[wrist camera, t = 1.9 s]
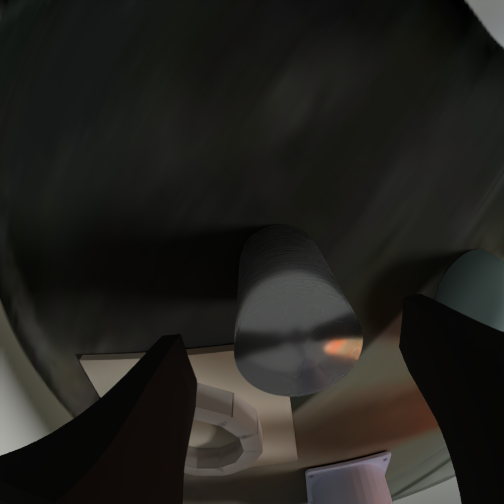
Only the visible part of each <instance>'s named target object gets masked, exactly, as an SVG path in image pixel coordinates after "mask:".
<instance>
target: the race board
mask: <svg viewBox="0 0 504 504" xmlns="http://www.w3.org/2000/svg"><path fill="white" fill-rule="evenodd" d="M186 351H187V354H188V357H189V360H190V363H191V365H192V368H193V371H194V373H195V376H196V379H197V395H196V408H195V414H194V419H193V424H192V430H191V435H190V440H189V445H188V450H187V456H186V461H185V468H184V473H187V474H191V475H195V476H196V475H197V476H222V475H229V474H232V473H235V472H238V471H241V470H244V469H246V468H249V467H251V466H262V465H272V464H280V463H288V462H295V461H298V457H297V449H296V442H295V434H294V427H293V419H292V412H291V404H290V397H287V396H278V395H273V394H269V393H266V392H264V391H261V390H259V389H257V388H255V387H254V386H252V385H251V384H250V383H249V382H247V381H246V380H245V379H244V377H243V376H242V375H241V374H240V372H239V370H238V368H237V366H236V363H235V359H234V344H231V345H222V346H213V347H204V348H194V349H186ZM145 353H146V352H144V353H125V354H100V355H82V357H81V358H80V360H79V361H80V363H81V365H82V366H83V368H84V370H85V372H86V374H87V375H88V377H89V379H90V381H91V382H92V384H93V386H94V387H95V389H96V391H97V392H98V394H99V396H100V397H102V396H103V395H105V394H106V393H107V392H108V391H109V390H110V389H111V388H112V387H113V386H114V385H115V384H116V383H117V382H118V381H119V380H120V379H121V378H122V377H124V376H125V375H126V374H127V372H128V371H129V370H130V369H131V368H132V367H133V366H134V365H135V364H136V363H137V362H138V361H139V360H140V359H141V358H142V357H143V356H144V355H145Z"/></svg>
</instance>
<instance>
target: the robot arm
mask: <svg viewBox="0 0 504 504" xmlns="http://www.w3.org/2000/svg"><path fill="white" fill-rule="evenodd" d="M399 348H400V351H401V353H402V356H403V358H404V361H405V363H406V365H407V368H408V370H409V372H410V374H411V376H412V377H413V379H414V381H415V383H416V384H417V386H418V388H419V390H420V392H421V393H422V395H423V397H424V399H425V400H426V402H427V404H428V406H429V407H430V409H431V411H432V413H433V415H434V416H435V418H436V420H437V422H438V425H439V427H440V429H441V431H442V434H443V437H444V440H445V442H446V445H447V448H448V451H449V454H450V457H451V460H452V464H453V467H454V470H455V474H456V478H457V483H458V487H459V492H460V496H461V503H462V504H504V332H503V331H500V330H497V329H495V328H493V327H490V326H488V325H486V324H483V323H481V322H479V321H477V320H475V319H473V318H470V317H468V316H466V315H464V314H462V313H460V312H458V311H456V310H454V309H452V308H450V307H448V306H446V305H444V304H442V303H440V302H438V301H436V300H434V299H431V298H429V297H427V296H424V295H422V294H417V295H413V296H409V297H404V304H403V316H402V326H401V335H400V343H399ZM196 395H197V379H196V376H195V373H194V371H193V368H192V365H191V363H190V360H189V357H188V354H187V351H186V349H185V346H184V343H183V340H182V337H181V334H177V335H166V336H162V337H161V338H160V339H159V340H158V341H157V342H156V343H155V344H154V345H153V346H152V347H151V348H150V349H149V350H148V351H147V352H146V353H145V355H144V356H143V357H142V358H141V359H140V360H139V361H138V362H137V363H136V364H135V365H134V366H133V367H132V368H131V369H130V370H129V371H128V372H127V374H126V375H125V376H124V377H122V378H121V379H120V380H119V381H118V382H117V383H116V384H115V385H114V386H113V387H112V388H111V389H110V390H109V391H108V392H107V393H106V394H105V395H103V396H102V397H101V398H100V399H99V400H98V401H97V402H95V403H94V404H93V405H92V406H90V407H89V408H88V409H86V410H85V411H84V412H83V413H81V414H80V415H79V416H77V417H76V418H74V419H73V420H71V421H70V422H68V423H66V424H65V425H63V426H62V427H60V428H59V429H57V430H56V431H54V432H53V433H51V434H49V435H47V436H45V437H43V438H41V439H39V440H37V441H35V442H33V443H31V444H29V445H27V446H25V447H22V448H20V449H17V450H15V451H12V452H9V453H7V454H4V455H1V456H0V504H183V479H184V468H185V461H186V456H187V450H188V445H189V440H190V435H191V430H192V424H193V419H194V414H195V408H196ZM390 458H391V452H390V451H386V452H383V453H379V454H376V455H372V456H368V457H364V458H360V459H356V460H352V461H347V462H343V463H338V464H333V465H328V466H323V467H317V468H312V469H308V470H306V471H305V476H306V487H307V498H308V504H393V502H392V499H391V496H390V492H389V489H388V486H387V483H386V479H385V476H384V475H385V472H386V469H387V466H388V463H389V461H390Z"/></svg>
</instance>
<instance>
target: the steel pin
mask: <svg viewBox="0 0 504 504" xmlns="http://www.w3.org/2000/svg"><path fill="white" fill-rule="evenodd" d="M362 343H363V334H362V329H361V326H360V324H359V321H358V319H357V318H356V316H355V314H354V312H353V310H352V308H351V306H350V305H349V303H348V301H347V299H346V297H345V295H344V294H343V292H342V290H341V288H340V286H339V284H338V283H337V281H336V279H335V277H334V275H333V274H332V272H331V270H330V268H329V267H328V265H327V263H326V261H325V260H324V258H323V256H322V254H321V253H320V251H319V249H318V247H317V246H316V244H315V242H314V241H313V239H312V238H311V237H310V236H309V235H308V234H307V233H306V232H304V231H303V230H301V229H299V228H297V227H294V226H291V225H284V224H278V225H271V226H268V227H265V228H263V229H261V230H259V231H257V232H256V233H254V234H253V235H252V236H251V237H250V238H249V239H248V240H247V242H246V243H245V245H244V247H243V249H242V252H241V255H240V263H239V277H238V293H237V308H236V324H235V340H234V359H235V363H236V366H237V368H238V370H239V372H240V374H241V375H242V376H243V377H244V379H245V380H246V381H247V382H249V383H250V384H251V385H252V386H254V387H255V388H257V389H259V390H261V391H264V392H266V393H269V394H273V395H278V396H287V397H294V396H304V395H309V394H313V393H316V392H319V391H322V390H324V389H326V388H328V387H330V386H332V385H334V384H335V383H337V382H338V381H340V380H341V379H342V378H343V377H344V376H345V375H346V374H347V373H348V372H349V371H350V370H351V369H352V368H353V366H354V365H355V363H356V362H357V360H358V358H359V355H360V353H361V349H362Z"/></svg>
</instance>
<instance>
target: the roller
mask: <svg viewBox="0 0 504 504" xmlns="http://www.w3.org/2000/svg"><path fill="white" fill-rule="evenodd" d="M436 301H438V302H440V303H442V304H444V305H446V306H448V307H450V308H452V309H454V310H456V311H458V312H460V313H462V314H464V315H466V316H468V317H470V318H473V319H475V320H477V321H479V322H481V323H483V324H486V325H488V326H490V327H493V328H495V329H497V330H500V331H503V332H504V262H503V261H502V260H500V259H499V258H497V257H496V256H494V255H493V254H491V253H490V252H488V251H486V250H483V249H476V250H472V251H469V252H467V253H465V254H463V255H462V256H461V257H459V258H458V259H457V260H456V261H455V262H454V263H453V264H452V265H451V266H450V267H449V269H448V270H447V272H446V273H445V275H444V276H443V278H442V280H441V282H440V285H439V287H438V291H437V295H436Z"/></svg>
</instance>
